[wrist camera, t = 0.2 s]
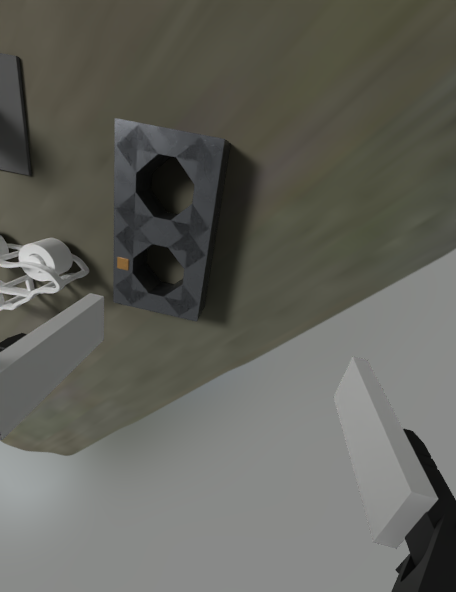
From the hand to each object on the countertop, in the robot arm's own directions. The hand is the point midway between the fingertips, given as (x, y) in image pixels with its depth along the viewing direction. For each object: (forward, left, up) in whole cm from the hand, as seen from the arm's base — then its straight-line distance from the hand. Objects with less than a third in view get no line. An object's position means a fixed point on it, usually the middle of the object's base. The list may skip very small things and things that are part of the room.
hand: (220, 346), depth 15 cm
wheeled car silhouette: (+12, -35, -29) cm, 47 cm away
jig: (+1, -12, -28) cm, 31 cm away
